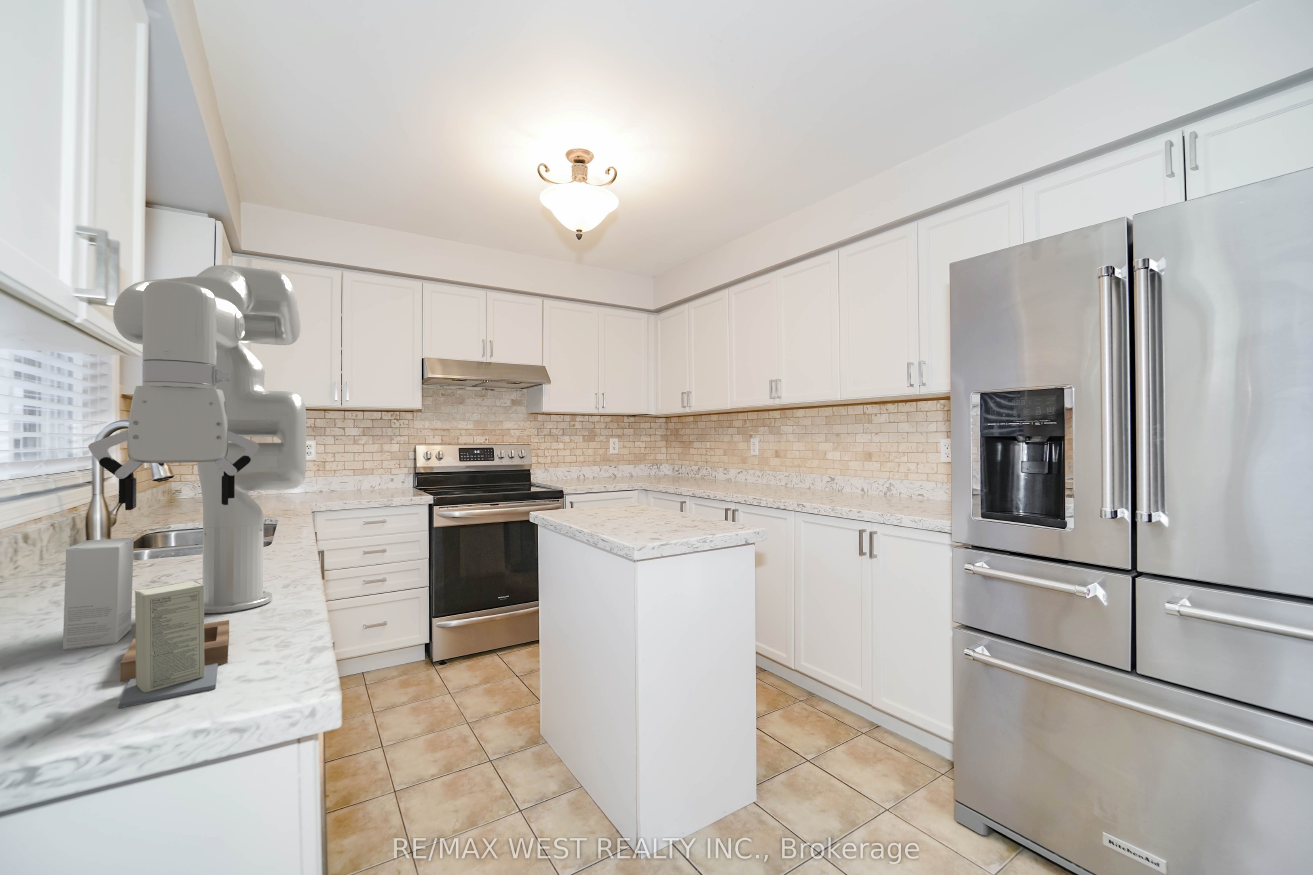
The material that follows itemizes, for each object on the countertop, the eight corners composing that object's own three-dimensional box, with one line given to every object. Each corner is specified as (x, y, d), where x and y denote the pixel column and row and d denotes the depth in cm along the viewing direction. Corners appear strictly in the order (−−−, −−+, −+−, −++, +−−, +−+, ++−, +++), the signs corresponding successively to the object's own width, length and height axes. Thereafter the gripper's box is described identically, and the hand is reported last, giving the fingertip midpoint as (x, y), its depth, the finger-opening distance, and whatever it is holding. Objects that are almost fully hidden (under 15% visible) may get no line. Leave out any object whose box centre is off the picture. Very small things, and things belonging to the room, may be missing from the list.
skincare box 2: (194, 669, 77) (195, 579, 77) (205, 677, 74) (206, 584, 74) (132, 685, 72) (133, 588, 72) (141, 694, 69) (143, 594, 69)
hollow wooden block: (136, 649, 86) (136, 633, 86) (229, 635, 93) (229, 619, 93) (120, 682, 74) (120, 662, 74) (227, 662, 81) (227, 644, 81)
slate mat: (130, 682, 74) (130, 678, 74) (217, 666, 79) (217, 663, 79) (118, 707, 67) (118, 703, 67) (215, 688, 72) (215, 684, 72)
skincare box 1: (82, 635, 93) (83, 540, 93) (135, 628, 96) (136, 536, 97) (60, 651, 86) (62, 547, 86) (119, 643, 89) (120, 543, 89)
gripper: (258, 383, 84) (258, 500, 84) (95, 375, 74) (95, 508, 73) (260, 379, 78) (259, 505, 78) (82, 370, 67) (82, 514, 67)
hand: (179, 506), depth 76 cm, fingers open, 9 cm apart
